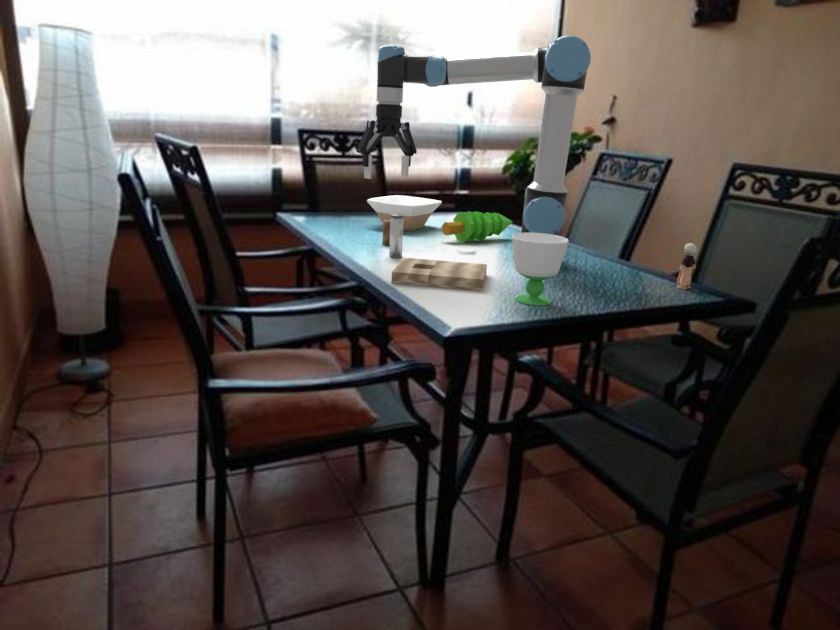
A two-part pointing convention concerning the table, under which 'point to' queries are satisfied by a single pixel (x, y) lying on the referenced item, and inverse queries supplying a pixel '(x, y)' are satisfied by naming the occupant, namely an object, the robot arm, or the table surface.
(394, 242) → the pin
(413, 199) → the bowl
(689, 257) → the grandmother figurine
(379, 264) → the table surface
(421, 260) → the board
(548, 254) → the cup
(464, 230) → the decorative tree
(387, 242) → the walnut dowel
